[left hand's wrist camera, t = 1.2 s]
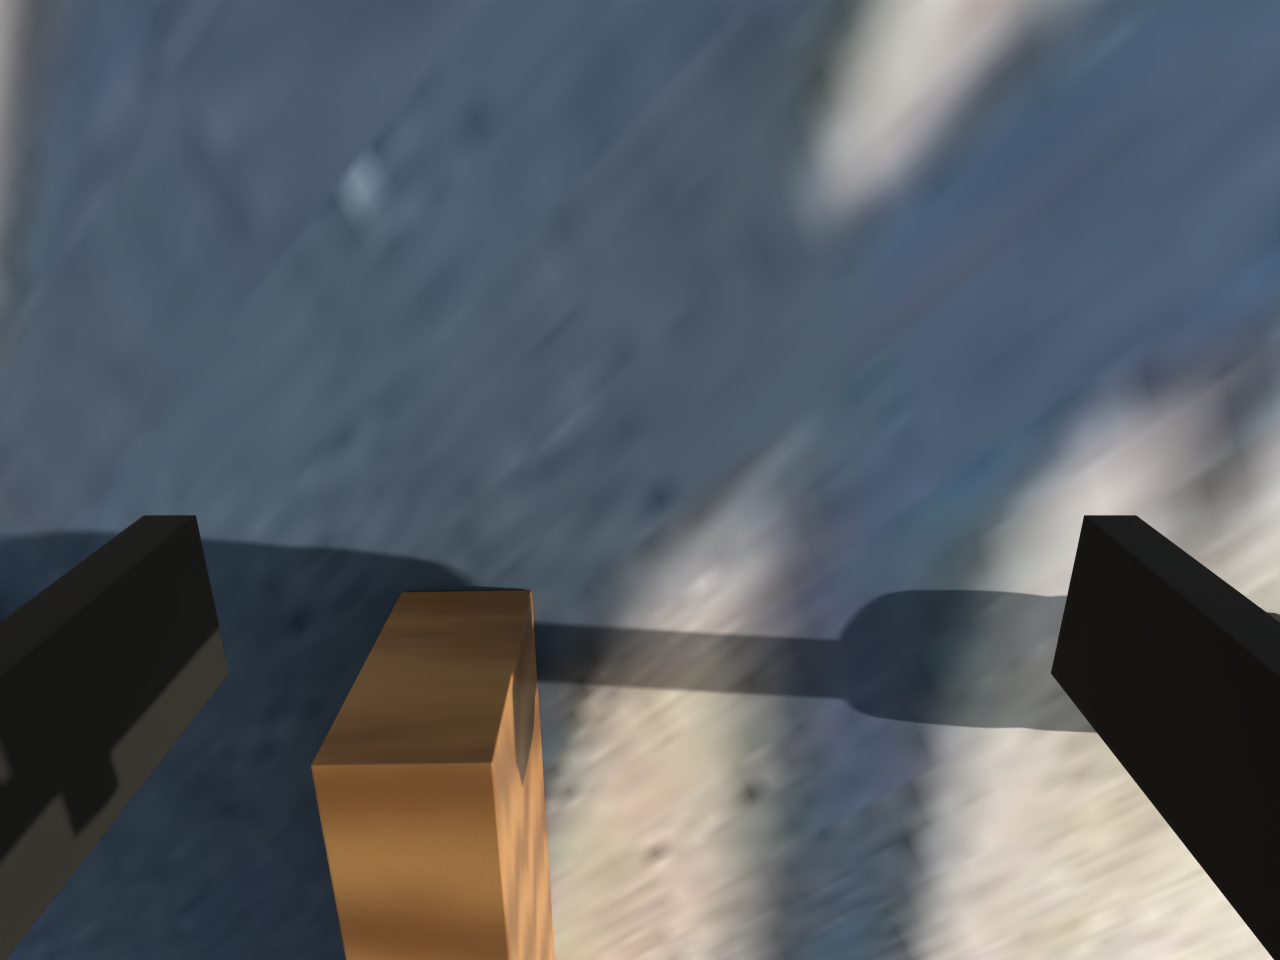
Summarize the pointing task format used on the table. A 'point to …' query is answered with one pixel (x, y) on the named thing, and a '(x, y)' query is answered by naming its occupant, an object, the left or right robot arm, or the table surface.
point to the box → (441, 787)
